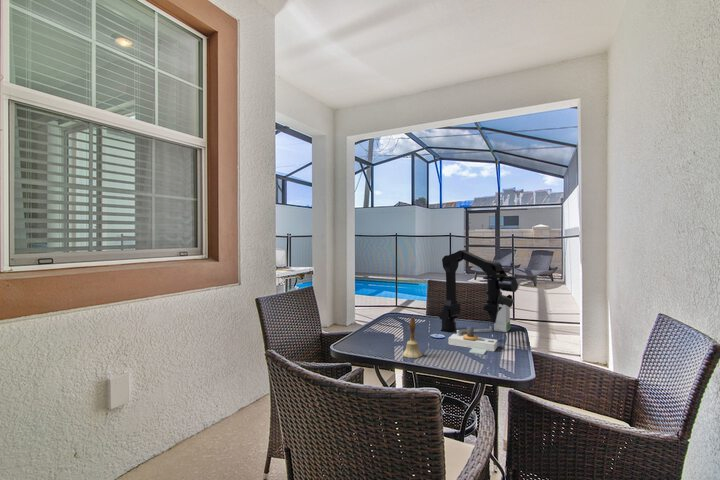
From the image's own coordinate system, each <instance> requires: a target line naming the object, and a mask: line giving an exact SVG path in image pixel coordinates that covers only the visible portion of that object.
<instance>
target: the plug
mask: <svg viewBox="0 0 720 480" xmlns="http://www.w3.org/2000/svg"><path fill="white" fill-rule="evenodd" d="M466 329H467V332H466V333H465V334H462V335H463V338H464V339H466V340H471V341H475V340H476V339H478V337H479V336H478V335H476V334H475V332H474V329H475V328H474V327H472V326H468V327H466Z"/></svg>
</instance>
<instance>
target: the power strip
mask: <svg viewBox="0 0 720 480" xmlns="http://www.w3.org/2000/svg"><path fill="white" fill-rule="evenodd" d="M463 335H464V334H462V332H461V333H457V332H456V333H452V334H451V335H450V336H449V337H448V345H451V346H458V347H464V348H471V349H472V348H477V349H484V350H487V351H488V352H495V351H496V349H497V348H498V339H494V338H492V339H491V338H485V337H479V336H478V339H476V340H475V341H471V340H466V339H464V338H463Z"/></svg>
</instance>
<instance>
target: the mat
mask: <svg viewBox="0 0 720 480" xmlns="http://www.w3.org/2000/svg"><path fill="white" fill-rule="evenodd" d="M487 351H488V350H484V349H477V348H471V349H470V350H469V352H468V353H470V354H476V355H480V356H481V355H482V356H484V355H485V354H486V353H487Z"/></svg>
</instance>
